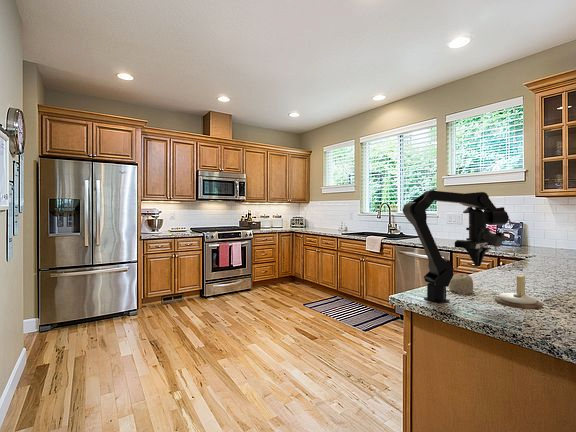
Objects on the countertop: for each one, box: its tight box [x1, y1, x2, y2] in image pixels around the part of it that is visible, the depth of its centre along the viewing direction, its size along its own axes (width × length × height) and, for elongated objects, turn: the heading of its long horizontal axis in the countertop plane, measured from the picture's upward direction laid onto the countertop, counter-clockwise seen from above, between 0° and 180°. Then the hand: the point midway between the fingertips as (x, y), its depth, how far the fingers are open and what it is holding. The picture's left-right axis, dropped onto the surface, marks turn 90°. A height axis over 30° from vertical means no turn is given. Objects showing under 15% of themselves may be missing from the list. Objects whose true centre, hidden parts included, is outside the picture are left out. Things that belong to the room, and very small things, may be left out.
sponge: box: [448, 273, 474, 294], centre depth 131 cm, size 9×10×10 cm
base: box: [494, 295, 543, 310], centre depth 112 cm, size 14×14×1 cm
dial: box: [498, 274, 538, 304], centre depth 112 cm, size 11×12×8 cm
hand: (477, 265), depth 117 cm, fingers closed
